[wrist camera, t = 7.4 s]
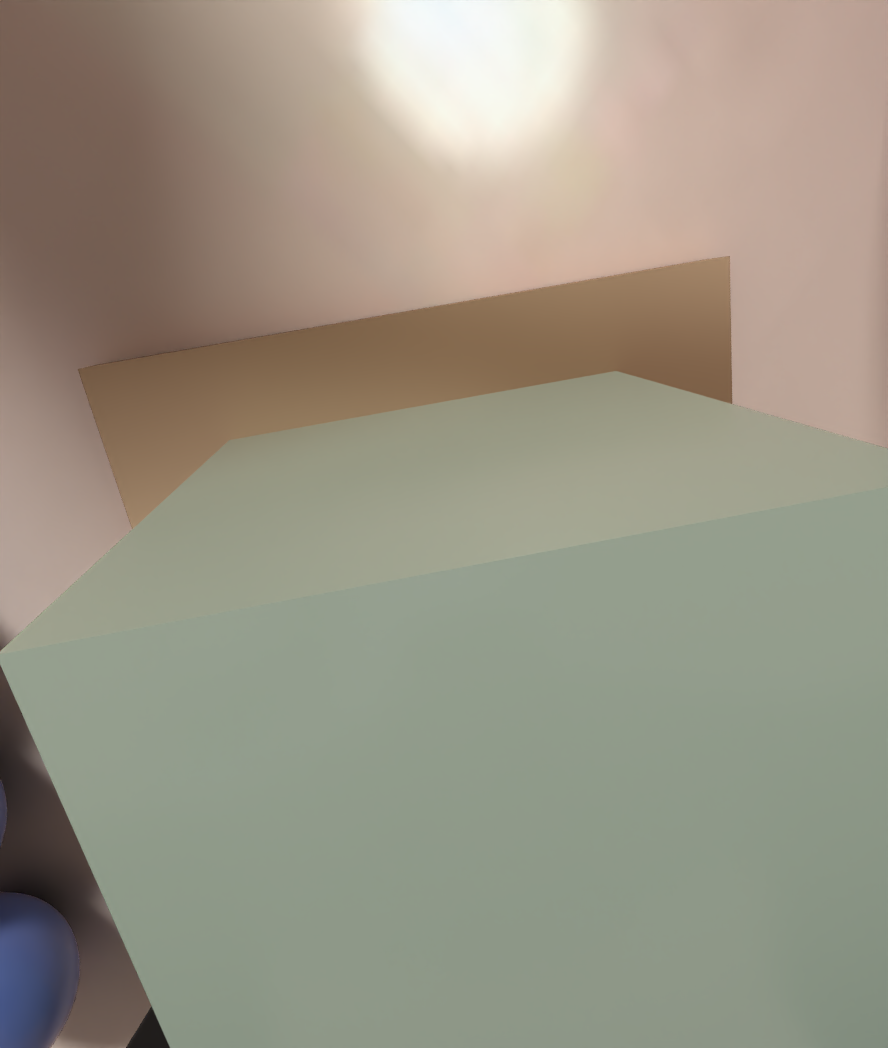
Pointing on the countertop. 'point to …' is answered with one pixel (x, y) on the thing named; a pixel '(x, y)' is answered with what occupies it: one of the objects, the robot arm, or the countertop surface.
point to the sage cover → (491, 729)
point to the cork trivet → (406, 366)
